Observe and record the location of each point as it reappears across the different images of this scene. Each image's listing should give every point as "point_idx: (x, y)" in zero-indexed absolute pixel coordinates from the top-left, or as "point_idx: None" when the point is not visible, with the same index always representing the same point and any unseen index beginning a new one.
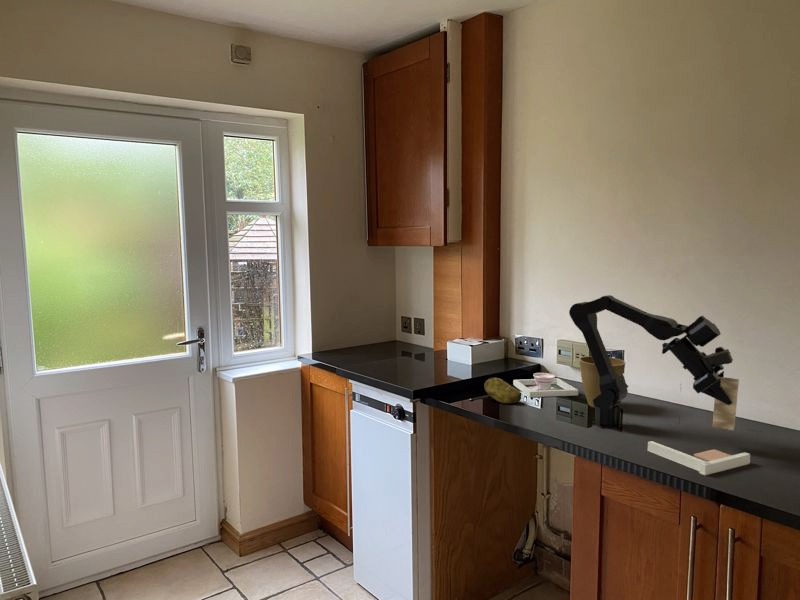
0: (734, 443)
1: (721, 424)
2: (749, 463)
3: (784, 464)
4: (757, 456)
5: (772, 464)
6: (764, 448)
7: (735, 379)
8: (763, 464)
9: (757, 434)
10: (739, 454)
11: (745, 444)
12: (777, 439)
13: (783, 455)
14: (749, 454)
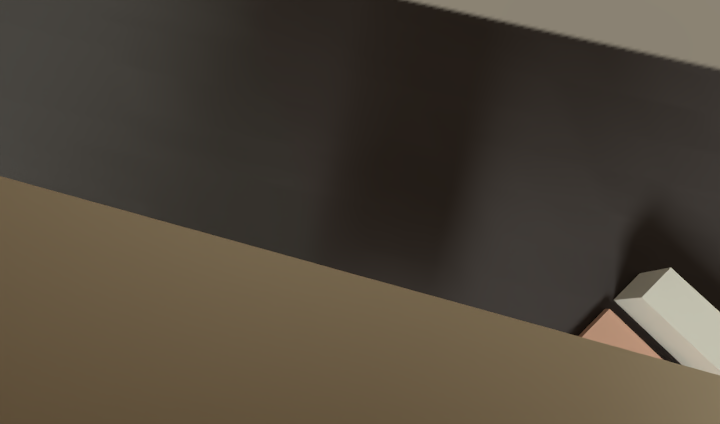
0: None
1: None
2: (641, 274)
3: (564, 76)
4: (470, 194)
5: (592, 141)
6: (296, 118)
7: (32, 320)
8: (614, 193)
9: (22, 97)
10: (710, 346)
11: (247, 213)
12: (98, 9)
13: (397, 44)
14: (678, 274)
